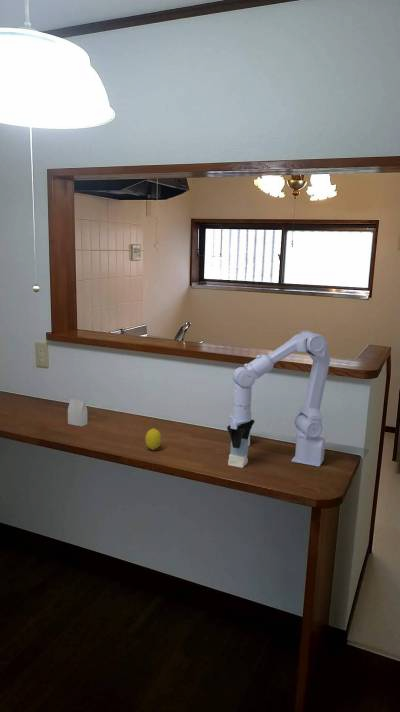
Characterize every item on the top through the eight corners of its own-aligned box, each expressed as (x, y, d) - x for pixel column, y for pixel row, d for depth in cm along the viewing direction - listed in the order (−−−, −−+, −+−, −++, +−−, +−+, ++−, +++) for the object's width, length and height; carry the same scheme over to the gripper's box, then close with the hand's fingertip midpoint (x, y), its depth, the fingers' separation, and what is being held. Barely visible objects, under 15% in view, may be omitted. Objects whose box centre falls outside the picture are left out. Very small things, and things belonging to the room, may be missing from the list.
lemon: (146, 453, 177) (147, 431, 175) (144, 447, 182) (144, 426, 181) (162, 452, 178) (162, 430, 177) (159, 446, 184) (159, 425, 182)
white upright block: (81, 426, 204) (81, 402, 202) (67, 423, 206) (67, 399, 204) (87, 424, 207) (87, 399, 205) (73, 421, 210) (73, 397, 208)
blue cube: (247, 452, 171) (248, 439, 170) (243, 456, 167) (243, 443, 166) (235, 450, 173) (235, 437, 172) (230, 454, 169) (230, 441, 168)
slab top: (246, 457, 172) (247, 452, 171) (243, 463, 167) (244, 457, 167) (232, 455, 173) (232, 450, 173) (228, 461, 168) (229, 455, 168)
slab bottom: (247, 463, 172) (247, 458, 171) (242, 469, 167) (242, 463, 167) (233, 461, 174) (233, 455, 173) (228, 466, 169) (228, 460, 169)
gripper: (238, 397, 175) (236, 436, 177) (222, 407, 162) (220, 448, 164) (258, 400, 172) (255, 439, 175) (243, 411, 159) (241, 452, 162)
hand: (240, 444), depth 169 cm, fingers open, 7 cm apart
